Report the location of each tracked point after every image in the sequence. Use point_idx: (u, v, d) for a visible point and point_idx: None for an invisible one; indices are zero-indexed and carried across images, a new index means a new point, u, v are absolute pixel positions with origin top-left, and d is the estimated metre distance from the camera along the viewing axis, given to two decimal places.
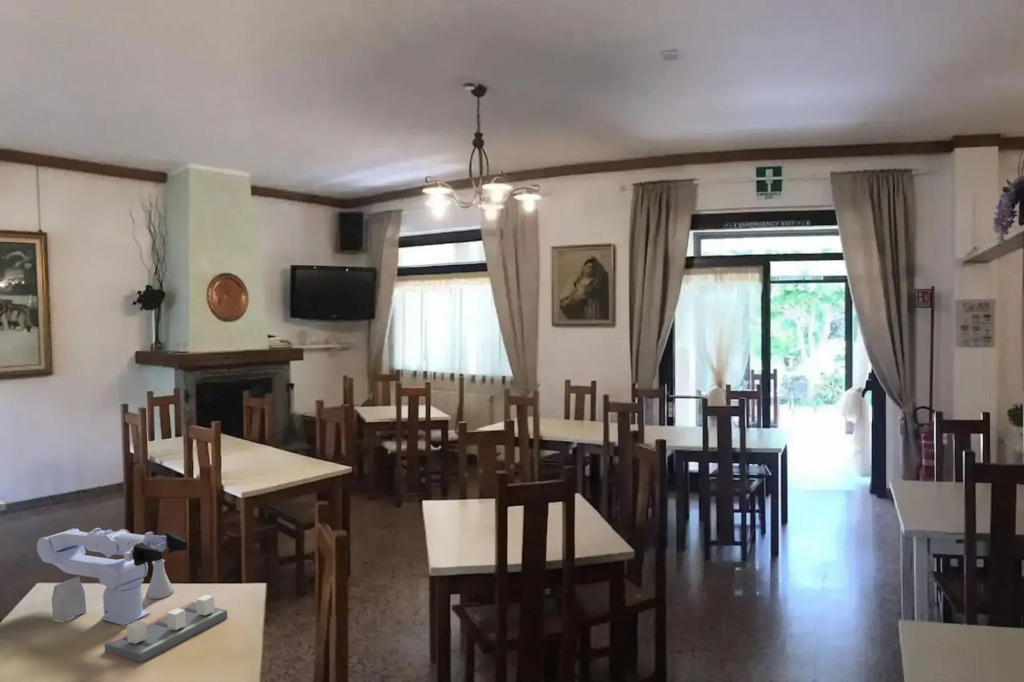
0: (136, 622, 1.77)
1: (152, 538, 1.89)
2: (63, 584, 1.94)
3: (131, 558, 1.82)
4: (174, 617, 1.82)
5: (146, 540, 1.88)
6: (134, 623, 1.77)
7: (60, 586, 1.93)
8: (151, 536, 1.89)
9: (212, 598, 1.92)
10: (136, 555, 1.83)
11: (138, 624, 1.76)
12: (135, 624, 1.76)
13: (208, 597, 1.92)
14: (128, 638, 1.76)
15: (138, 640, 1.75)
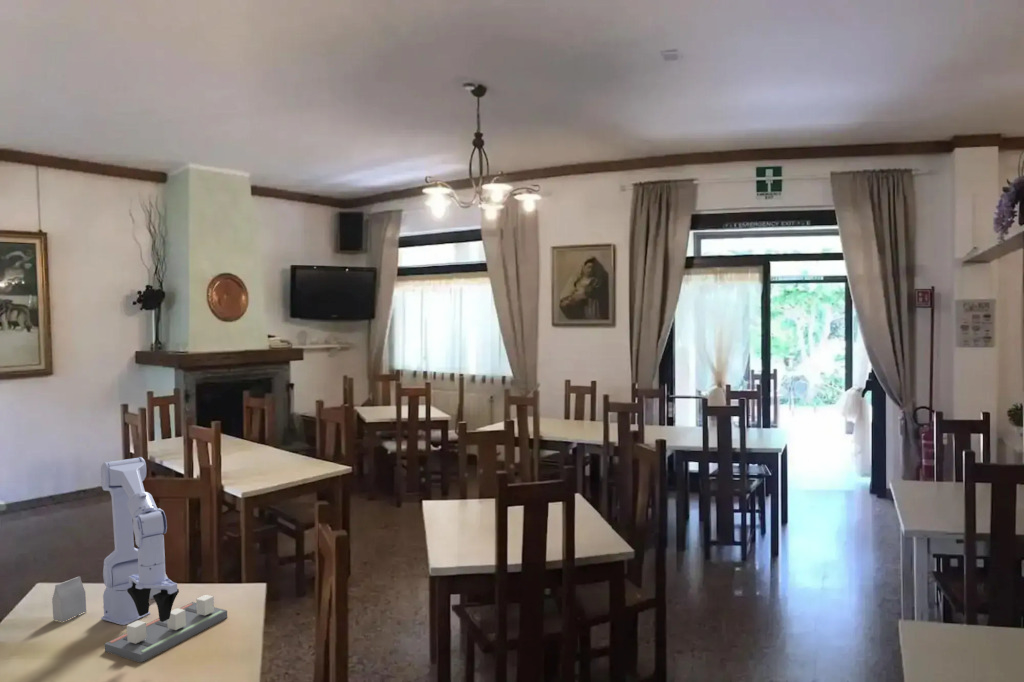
0: (136, 622, 1.77)
1: None
2: (64, 584, 1.94)
3: None
4: (174, 617, 1.82)
5: None
6: (134, 623, 1.77)
7: (61, 585, 1.93)
8: (143, 587, 1.70)
9: (212, 598, 1.92)
10: None
11: (138, 624, 1.76)
12: (135, 624, 1.76)
13: (208, 597, 1.92)
14: (128, 638, 1.76)
15: (138, 640, 1.75)
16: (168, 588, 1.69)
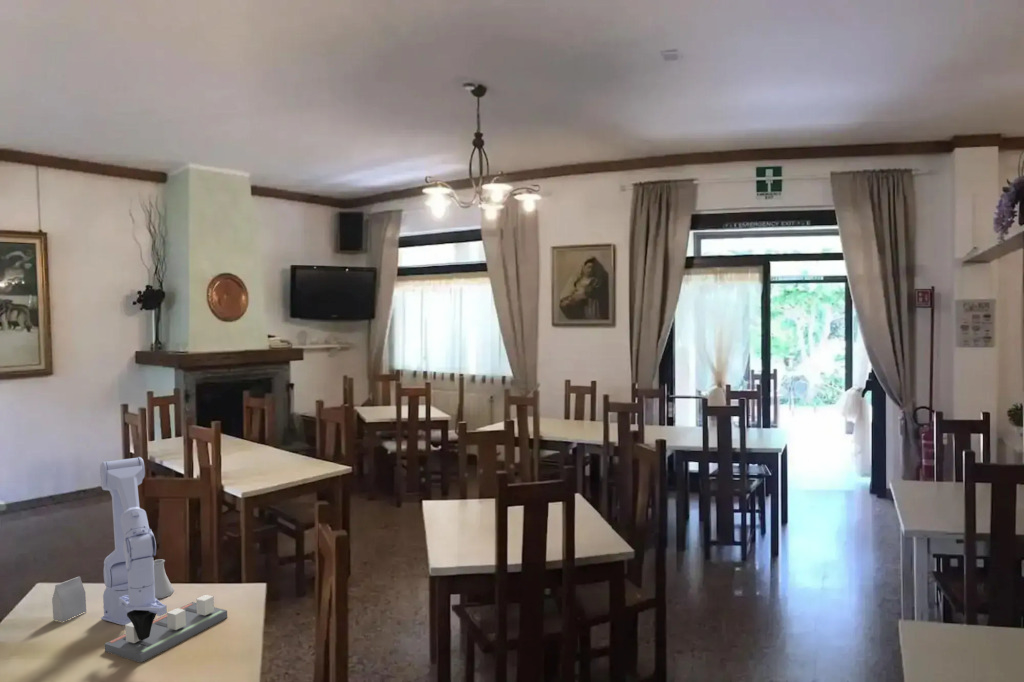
0: None
1: None
2: (64, 584, 1.94)
3: None
4: (174, 617, 1.82)
5: None
6: None
7: (61, 585, 1.93)
8: None
9: (212, 598, 1.92)
10: None
11: None
12: None
13: (208, 597, 1.92)
14: (126, 638, 1.76)
15: (136, 640, 1.76)
16: (157, 610, 1.71)
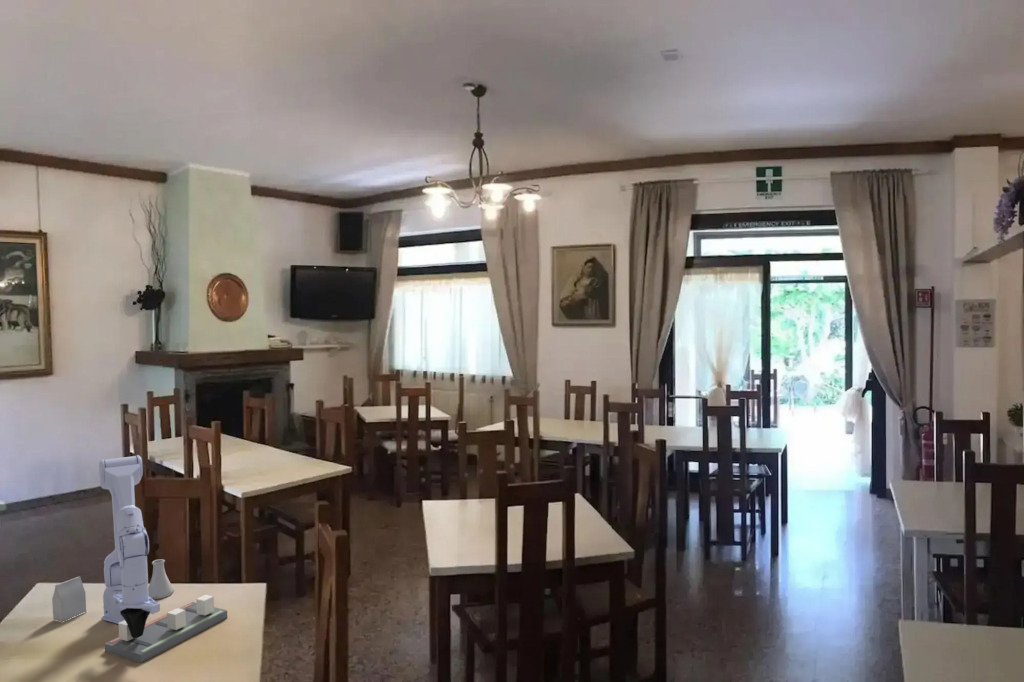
0: None
1: None
2: (64, 584, 1.94)
3: None
4: (174, 617, 1.82)
5: None
6: None
7: (61, 585, 1.93)
8: None
9: (212, 598, 1.92)
10: None
11: None
12: None
13: (208, 597, 1.92)
14: (120, 636, 1.77)
15: (130, 638, 1.77)
16: (151, 608, 1.72)
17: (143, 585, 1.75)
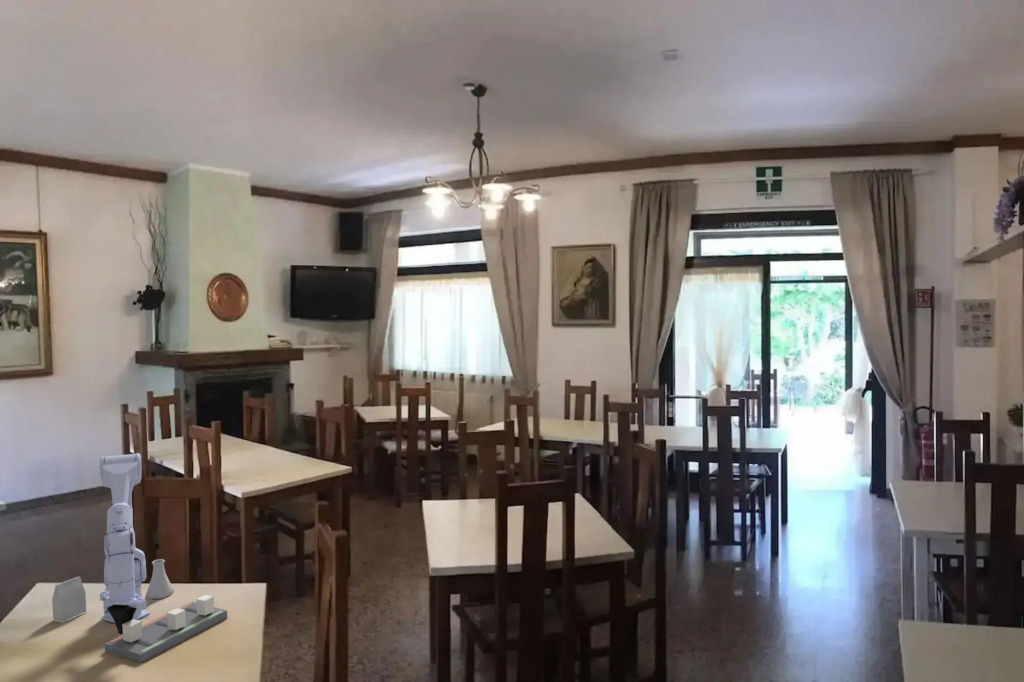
0: (132, 621, 1.78)
1: None
2: (64, 584, 1.94)
3: None
4: (174, 617, 1.82)
5: None
6: (130, 622, 1.77)
7: (61, 585, 1.93)
8: None
9: (212, 598, 1.92)
10: None
11: (134, 623, 1.77)
12: (131, 623, 1.77)
13: (208, 597, 1.92)
14: (124, 637, 1.77)
15: (134, 639, 1.76)
16: (137, 605, 1.74)
17: (130, 582, 1.77)
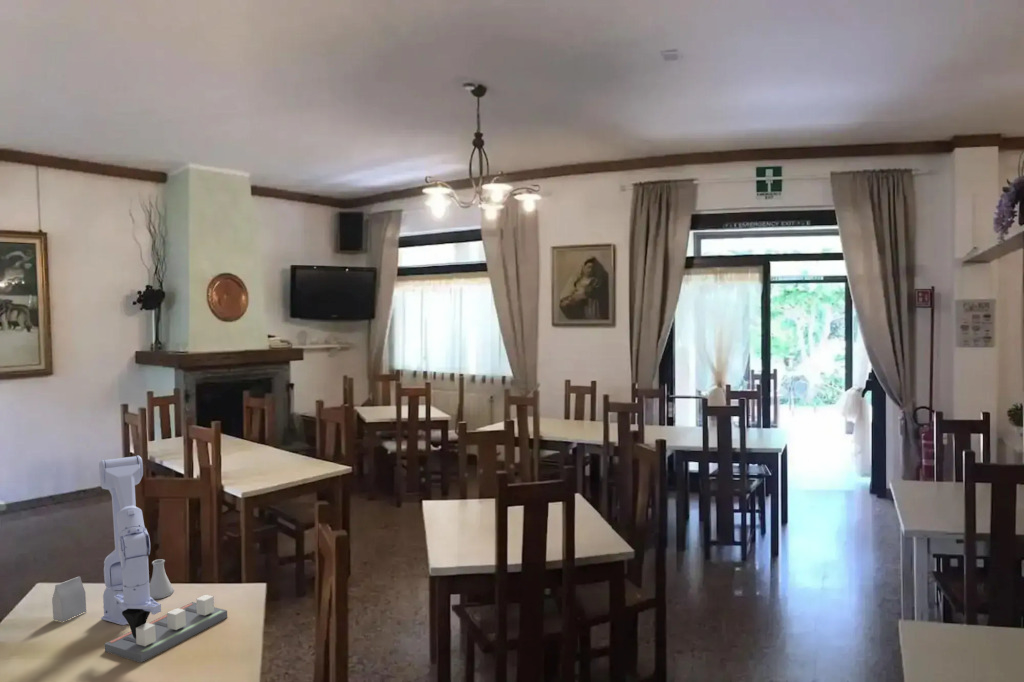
0: (145, 624, 1.76)
1: None
2: (64, 584, 1.94)
3: None
4: (174, 617, 1.82)
5: None
6: (143, 625, 1.75)
7: (61, 585, 1.93)
8: None
9: (212, 598, 1.92)
10: None
11: (147, 627, 1.75)
12: (144, 627, 1.75)
13: (208, 597, 1.92)
14: (137, 641, 1.74)
15: (147, 643, 1.74)
16: (152, 609, 1.72)
17: (144, 585, 1.75)
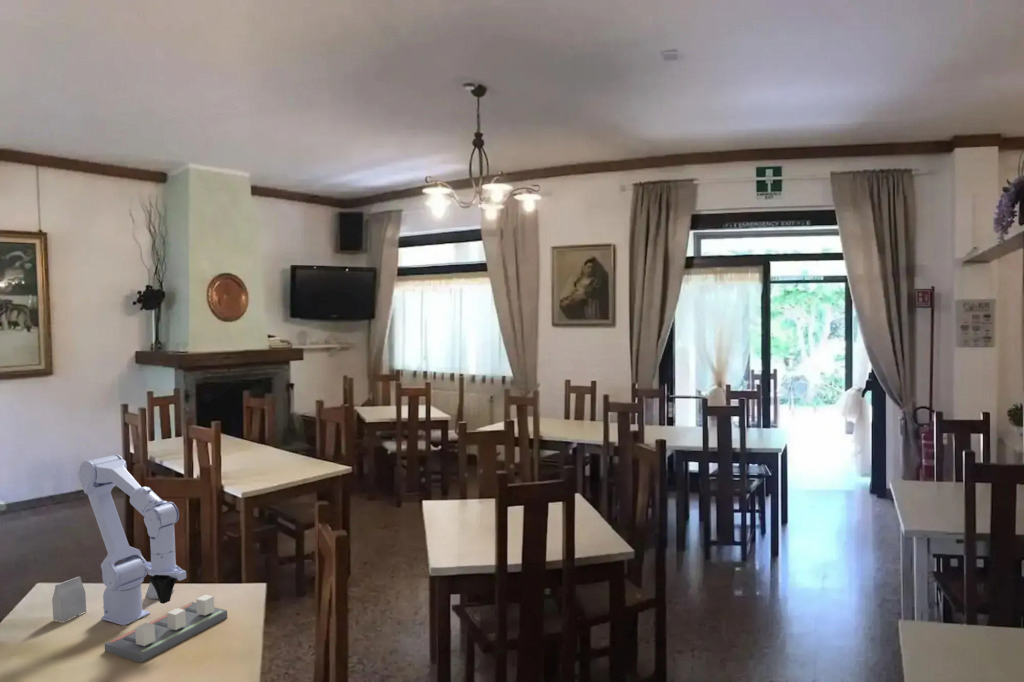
0: (144, 624, 1.76)
1: None
2: (64, 584, 1.94)
3: None
4: (174, 617, 1.82)
5: None
6: (142, 625, 1.75)
7: (61, 585, 1.93)
8: None
9: (212, 598, 1.92)
10: None
11: (147, 626, 1.75)
12: (144, 626, 1.75)
13: (208, 597, 1.92)
14: (136, 640, 1.75)
15: (147, 642, 1.74)
16: (178, 575, 1.83)
17: (171, 553, 1.85)
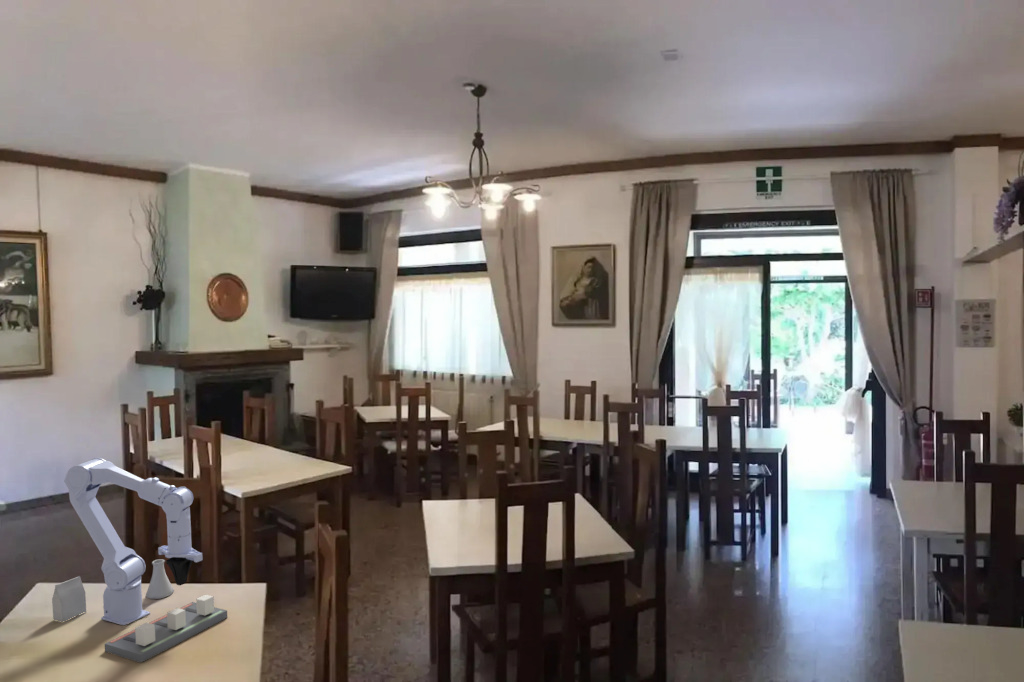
0: (144, 624, 1.76)
1: None
2: (64, 584, 1.94)
3: None
4: (174, 617, 1.82)
5: None
6: (142, 625, 1.75)
7: (61, 585, 1.93)
8: (171, 556, 1.90)
9: (212, 598, 1.92)
10: None
11: (147, 626, 1.75)
12: (144, 626, 1.75)
13: (208, 597, 1.92)
14: (136, 640, 1.75)
15: (147, 642, 1.74)
16: (194, 557, 1.89)
17: (187, 537, 1.92)
